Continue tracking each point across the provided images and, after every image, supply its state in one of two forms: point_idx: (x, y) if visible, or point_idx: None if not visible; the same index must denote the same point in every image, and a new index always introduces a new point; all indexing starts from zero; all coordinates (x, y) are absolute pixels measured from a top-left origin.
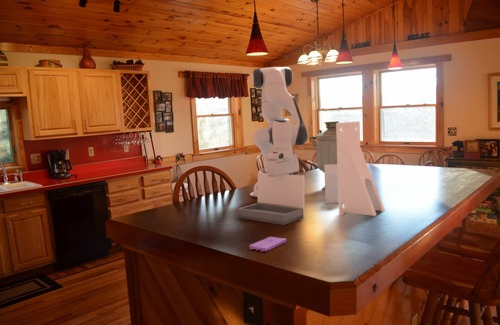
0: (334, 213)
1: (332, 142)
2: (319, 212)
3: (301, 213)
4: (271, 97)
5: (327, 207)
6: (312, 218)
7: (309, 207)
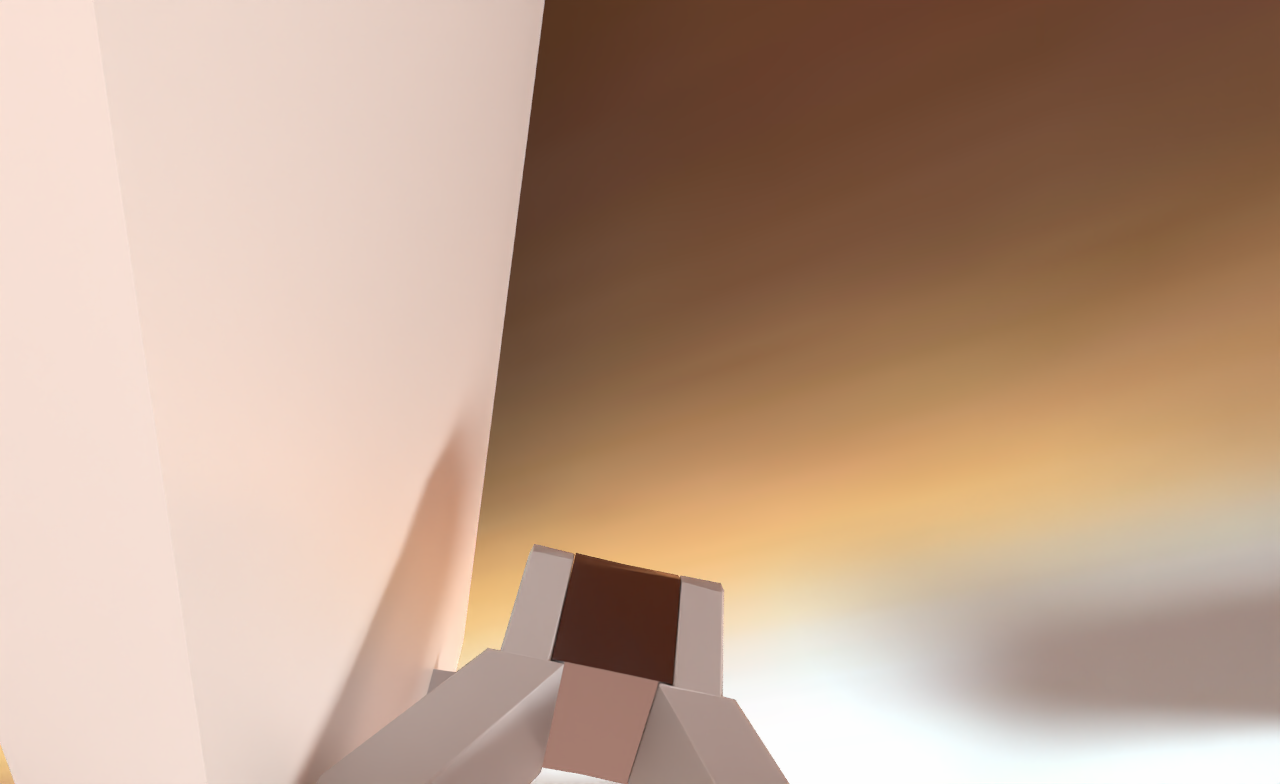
0: (789, 745)
1: None
2: (804, 620)
3: None
4: None
5: (1130, 642)
6: (485, 619)
7: (1132, 439)
